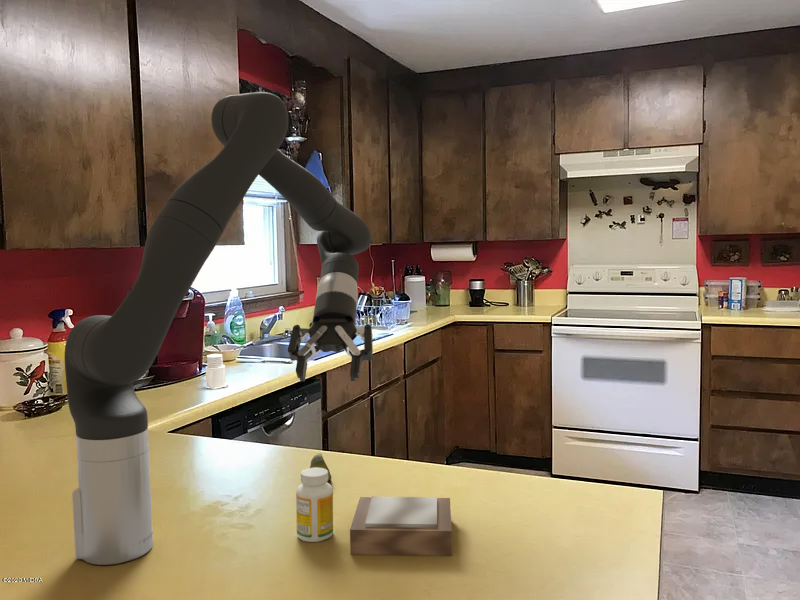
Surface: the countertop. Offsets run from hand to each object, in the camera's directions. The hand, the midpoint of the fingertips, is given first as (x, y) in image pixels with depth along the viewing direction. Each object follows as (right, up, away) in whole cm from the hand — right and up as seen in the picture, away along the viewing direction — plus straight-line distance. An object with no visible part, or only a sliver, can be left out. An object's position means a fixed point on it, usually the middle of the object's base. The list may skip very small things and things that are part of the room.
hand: (327, 378), depth 110 cm
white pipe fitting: (-45, -14, +95) cm, 106 cm away
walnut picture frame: (+12, -22, -12) cm, 28 cm away
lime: (-2, -20, +12) cm, 23 cm away
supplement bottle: (-1, -22, -11) cm, 25 cm away
